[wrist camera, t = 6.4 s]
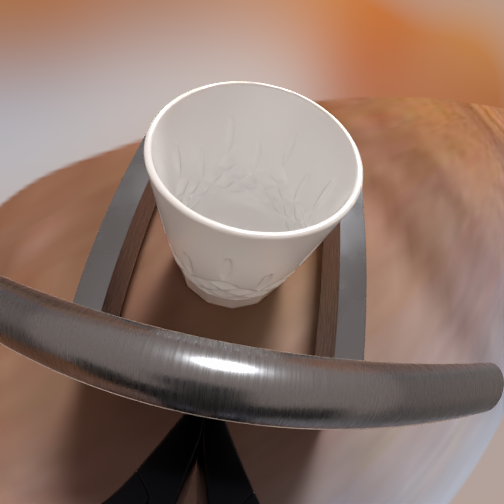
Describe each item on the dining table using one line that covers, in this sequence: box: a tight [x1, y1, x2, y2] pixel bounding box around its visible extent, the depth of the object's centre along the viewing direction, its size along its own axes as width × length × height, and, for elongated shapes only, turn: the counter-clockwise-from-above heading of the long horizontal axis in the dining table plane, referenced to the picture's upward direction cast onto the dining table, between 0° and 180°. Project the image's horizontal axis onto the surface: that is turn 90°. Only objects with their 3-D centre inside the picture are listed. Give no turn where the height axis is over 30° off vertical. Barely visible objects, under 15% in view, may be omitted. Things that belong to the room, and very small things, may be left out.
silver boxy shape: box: [0, 136, 504, 430], centre depth 12 cm, size 15×15×12 cm
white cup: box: [144, 81, 363, 308], centre depth 14 cm, size 8×8×10 cm
